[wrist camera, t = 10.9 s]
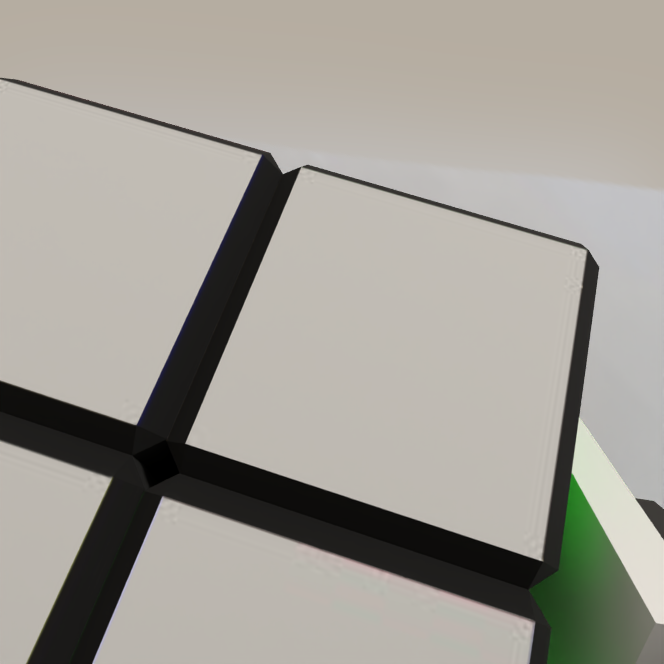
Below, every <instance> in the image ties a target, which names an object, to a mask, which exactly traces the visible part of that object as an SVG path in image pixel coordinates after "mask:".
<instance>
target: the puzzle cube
mask: <svg viewBox="0 0 664 664" xmlns="http://www.w3.org/2000/svg"><path fill="white" fill-rule="evenodd" d="M598 272H599V266H598V265H597V263H596V261H595V260H594V258H593V257H592V255H591V253H590V252H589V250H588V249H587V248H585V247H584V246H583V245H582V244H579V243H576V242H573V241H569V240H566V239H562V238H559V237H555V236H552V235H548V234H545V233H541V232H538V231H535V230H531V229H528V228H524V227H521V226H517V225H514V224H510V223H507V222H504V221H500V220H497V219H493V218H490V217H486V216H483V215H479V214H476V213H472V212H469V211H466V210H462V209H459V208H455V207H452V206H448V205H445V204H441V203H438V202H435V201H431V200H428V199H424V198H421V197H417V196H414V195H410V194H407V193H403V192H400V191H397V190H393V189H390V188H386V187H383V186H379V185H376V184H372V183H369V182H365V181H362V180H359V179H355V178H352V177H348V176H345V175H341V174H338V173H334V172H331V171H328V170H324V169H321V168H317V167H314V166H310V165H306V166H302V167H300V168H297V169H295V170H292V171H290V172H287V173H285V174H282V172H281V170H280V169H279V167H278V165H277V163H276V162H275V160H274V158H273V157H272V155H271V153H269V152H265V151H262V150H258V149H255V148H251V147H248V146H244V145H241V144H237V143H234V142H231V141H227V140H224V139H220V138H217V137H213V136H210V135H206V134H203V133H199V132H196V131H193V130H189V129H186V128H182V127H179V126H175V125H172V124H168V123H165V122H161V121H158V120H154V119H151V118H148V117H144V116H141V115H137V114H134V113H130V112H127V111H124V110H120V109H117V108H113V107H109V106H106V105H103V104H99V103H96V102H92V101H89V100H86V99H82V98H78V97H75V96H72V95H68V94H65V93H61V92H58V91H54V90H51V89H48V88H44V87H41V86H37V85H33V84H30V83H27V82H23V81H20V80H15V79H6V78H0V664H547V660H548V653H549V645H550V638H551V630H552V628H551V626H550V625H549V623H548V621H547V620H546V618H545V616H544V614H543V613H542V611H541V609H540V608H539V606H538V604H537V603H536V601H535V599H534V598H533V596H532V594H531V593H530V591H529V589H530V588H532V587H533V586H535V585H537V584H538V583H540V582H541V581H543V580H544V579H546V578H548V577H549V576H551V575H552V574H554V573H555V572H557V571H558V570H559V563H560V556H561V549H562V541H563V534H564V526H565V519H566V511H567V504H568V496H569V489H570V481H571V474H572V466H573V459H574V451H575V444H576V437H577V429H578V422H579V414H580V407H581V399H582V392H583V384H584V377H585V369H586V362H587V354H588V347H589V339H590V332H591V324H592V317H593V310H594V302H595V295H596V287H597V280H598Z"/></svg>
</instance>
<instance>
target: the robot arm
mask: <svg viewBox="0 0 664 664" xmlns="http://www.w3.org/2000/svg"><path fill="white" fill-rule="evenodd" d="M529 591H530V593H531V594H532V596H533V598H534V599H535V601H536V603H537V604H538V606H539V608H540V609H541V611H542V613H543V614H544V616H545V618H546V620H547V621H548V623H549V625H550V626H551V628H552V630H551V638H550V645H549V653H548V660H547V664H664V509H663V508H662V507H660V506H659V505H658V504H657V503H656V502H654V501H649V500H643V499H637V498H634V496H633V495H632V493H631V492H630V490H629V489H628V487H627V486H626V484H625V483H624V481H623V480H622V479H621V477H620V476H619V474H618V473H617V471H616V470H615V468H614V467H613V465H612V464H611V463H610V461H609V460H608V458H607V457H606V455H605V454H604V452H603V451H602V449H601V448H600V446H599V445H598V444H597V442H596V441H595V439H594V438H593V436H592V435H591V433H590V432H589V430H588V429H587V427H586V426H585V425H584V423H583V422H582V420H581V419H580V417H579V422H578V429H577V437H576V444H575V451H574V459H573V466H572V474H571V481H570V489H569V496H568V504H567V511H566V519H565V526H564V534H563V541H562V549H561V556H560V563H559V570H558V571H557V572H555V573H554V574H552V575H551V576H549V577H548V578H546V579H544V580H543V581H541V582H540V583H538V584H537V585H535V586H533V587H532V588H530V589H529Z"/></svg>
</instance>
